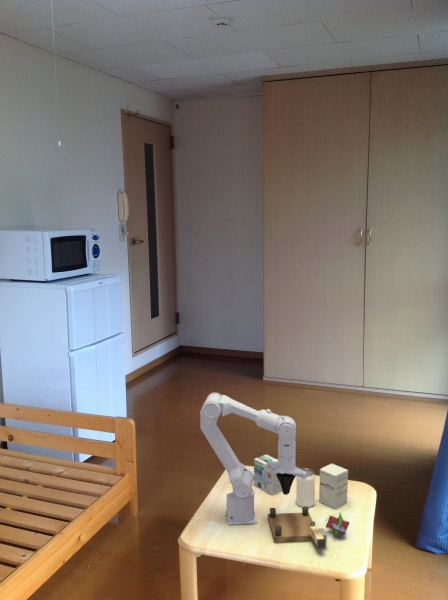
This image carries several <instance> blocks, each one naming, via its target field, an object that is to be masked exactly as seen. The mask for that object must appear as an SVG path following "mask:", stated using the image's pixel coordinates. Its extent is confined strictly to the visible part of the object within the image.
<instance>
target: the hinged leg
mask: <svg viewBox="0 0 448 600" xmlns="http://www.w3.org/2000/svg"><path fill="white" fill-rule="evenodd" d="M319 528H320V527H318V525H316V521H313V520H312V521H311V526H310V534H311V536H312V538H313V540H314V541H313V542H314V543H315V545H316V548H317V549H322V548H325V539H324V537H323V536H322V534H321V532H320V530H319Z"/></svg>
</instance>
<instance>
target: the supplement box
mask: <svg viewBox="0 0 448 600" xmlns="http://www.w3.org/2000/svg"><path fill="white" fill-rule="evenodd" d="M348 481H349V470H348V469H346V468H344V467H342V466H339V465H336V464H334V463H330V464H327V465H326V466H322V468H320V469H319V487H318V488H319V492H318V493H319V494H318V495H319V496H318V503H322V504H324V505H325V506H328V507H330V508H332V509H334V510H336V509H338V508H340V507H342V506H343V505H345V504H347V503H348V486H349V485H348Z"/></svg>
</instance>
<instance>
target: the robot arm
mask: <svg viewBox="0 0 448 600" xmlns="http://www.w3.org/2000/svg"><path fill="white" fill-rule="evenodd" d="M199 414H200V421H199V422H200V426H199V427H200V431H201V432H202V434H203V435H204V437H205V438H206V440H207V442H208V443H209V444H210V446H211V448H212V450H213V451H214V453H215V454H216V456H217V457H218V459H219V461H220V463H221V464H222V466H223V468H224V469H225V471H226V472H227V474H228V479H229V483H230V484H231V488H232V492H228V493H226V510H225V516H226V517H227V525H229V526H232V525H249V524H250V525H251V524H257V523H258V522H257V518H256V513H255V491H254V488H253V485H254V473H253V472H252V471H251V470H249V469H248V468H247V467H246V465H245V464H243V463H241V461H239V459H238V457H237V455H236V453H235V452H234V450H233V449H232V447H231V446H230V444H229V442H228V441H227V439H226V438H225V436H224V434H223V433H222V431H221V430H220V428H219V426H218V424H217V422H218V419H219V417H220V415H222V417H224V416H225V417H226V416H228V415H231V414H233V415H237V416H240V417H243V418H245V419H248V420H251V421H253V422H255V424H256V426H258V427H259V428H262V429H265V430H267V431H269V432H272V433H275V434H277V436H278V441H277V460H278V462H274V461H268V462H267V468H272V469H275V470H278V473H277V474H276V477H277V478H278V480H279V482H280V484H281V487H282V494H283V495H285V496H288V495H289V494H290V492H291V488H292V484H293V483H294V480H295V479H296V478H297V477H301V478H302V479H303V480H304V479H306V478H307V472H306V471H303V470H301V469H302V468H300V467H298V466H296V450H297V449H296V447H297V446H296V445H297V443H296V435H297V431H296V429H297V424H296V421H295V420H294V419H293V418H292V417H291V416H288V415H279V414H276V413H273V412H272V411H271V409H269V408H267V409H260V410H256V409H254V408H253V407H249V406H248V405H246V404H244V403H242V402H239V401H237V400H235V399H233V398H231V397H229V396H227V395H225V394H221V393H219V392H211V393H209V394H208V395H207V397H206V399H205V401H204V402H203V405H202V406H201V409H200V410H199Z"/></svg>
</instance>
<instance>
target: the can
mask: <svg viewBox="0 0 448 600" xmlns="http://www.w3.org/2000/svg"><path fill="white" fill-rule="evenodd" d="M300 469H301V470H303V471H306V472H307V478H306V479H304V480H303V479H302V478H301V477H297V476H296V485H295V486H296V491H295V493H296V495H295V496H296V497H295V498H296V499H295V500H296V504H297V506H299V507H301V508H302V507H303V506H307V507H308V509H309V508H312V507H313V506H315V502H316V501H315V499H316V475H315V472H314V470H312V469H310V468H305V467H304V468H303V467H302V468H300Z"/></svg>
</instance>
